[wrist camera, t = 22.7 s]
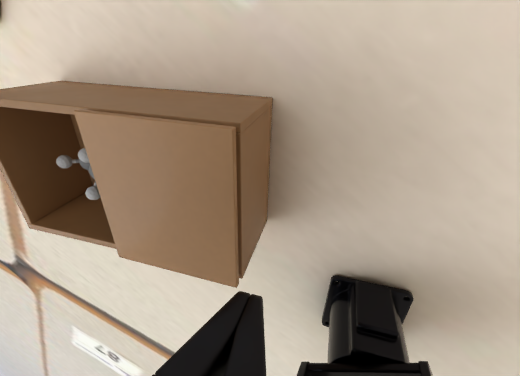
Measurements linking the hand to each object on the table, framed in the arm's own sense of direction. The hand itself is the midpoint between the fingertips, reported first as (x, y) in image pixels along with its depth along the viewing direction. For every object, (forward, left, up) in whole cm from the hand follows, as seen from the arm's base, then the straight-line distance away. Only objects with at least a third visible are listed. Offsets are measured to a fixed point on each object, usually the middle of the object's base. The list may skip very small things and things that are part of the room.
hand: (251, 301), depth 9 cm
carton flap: (-1, +7, -5) cm, 8 cm away
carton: (-1, +11, -12) cm, 16 cm away
